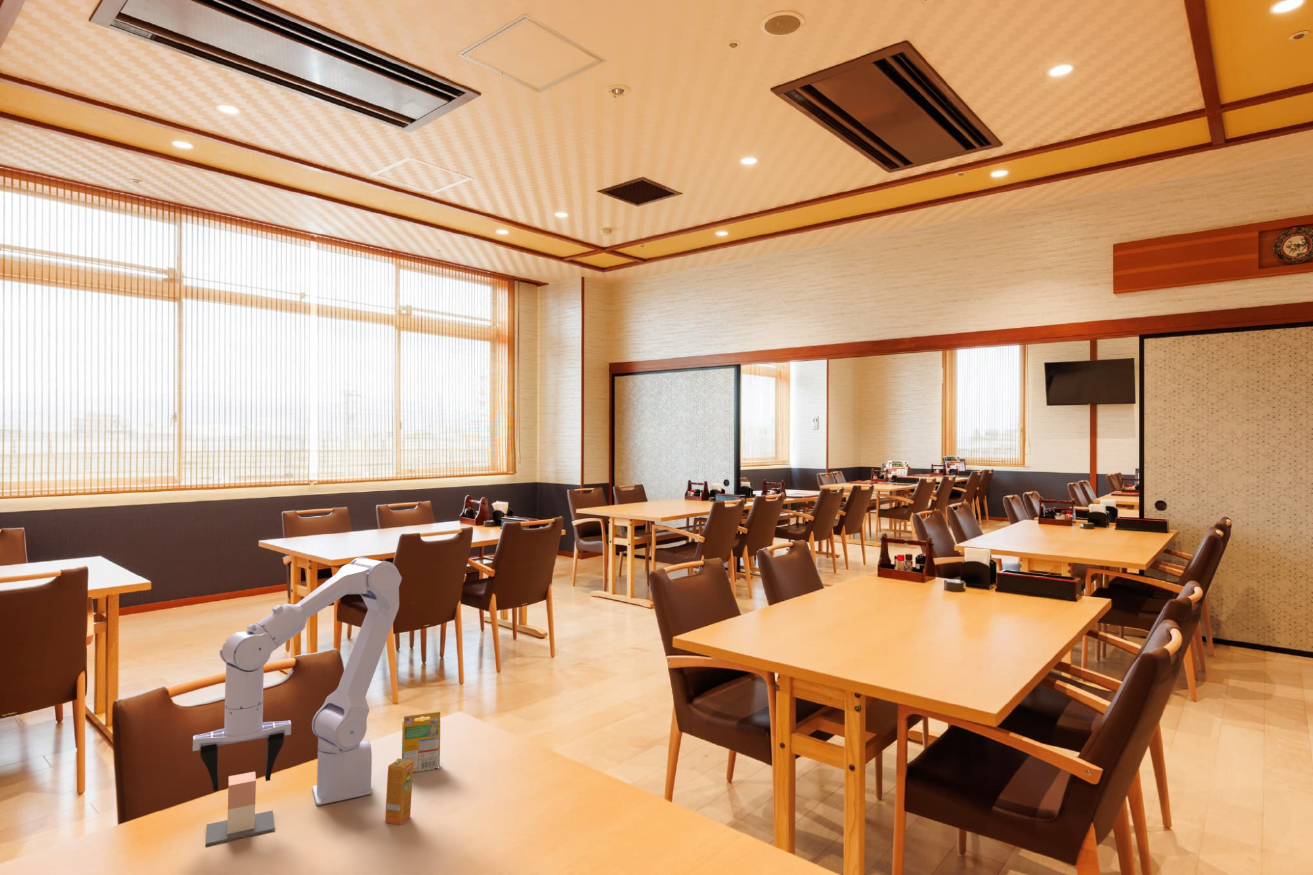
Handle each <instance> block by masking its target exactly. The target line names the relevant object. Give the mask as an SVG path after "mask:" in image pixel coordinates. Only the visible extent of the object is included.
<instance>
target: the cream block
mask: <svg viewBox="0 0 1313 875" xmlns="http://www.w3.org/2000/svg"><path fill="white" fill-rule="evenodd" d="M255 814H256V803H255V804H254V805H249V806H244V807H240V808H235V809H230V810H228V809H227V819H226V820H227V834H230V833H235V832H240V831H244V830H249V829H253V828H255Z"/></svg>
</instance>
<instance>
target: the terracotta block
mask: <svg viewBox="0 0 1313 875" xmlns="http://www.w3.org/2000/svg"><path fill="white" fill-rule="evenodd" d="M256 776H257V774H256V771H251V772H250V771H249V772H245V773H240V774H239V773H238V774H235V775H229V776H228V784H227V785H228V786H227V787H228V790H227V811H228V810H230V809H235V808H240V807H244V806H249V805H254V804H255V805H256V792H257V791H256V790H257V786H256V785H257V777H256Z"/></svg>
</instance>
